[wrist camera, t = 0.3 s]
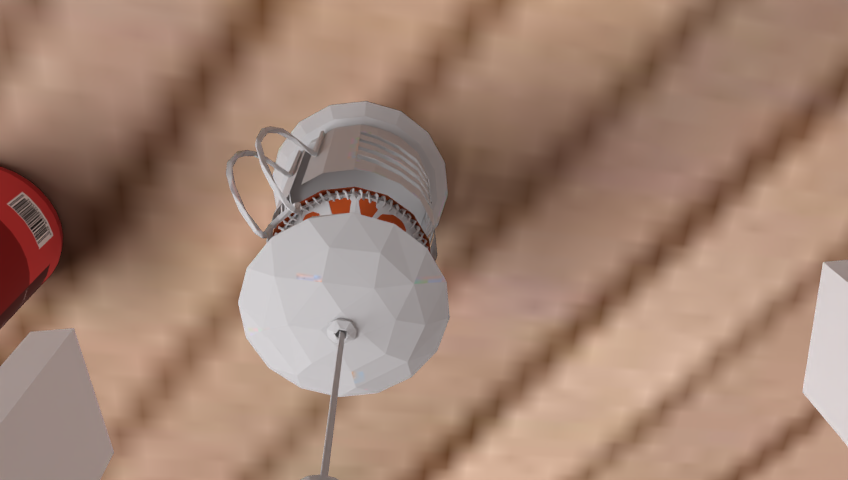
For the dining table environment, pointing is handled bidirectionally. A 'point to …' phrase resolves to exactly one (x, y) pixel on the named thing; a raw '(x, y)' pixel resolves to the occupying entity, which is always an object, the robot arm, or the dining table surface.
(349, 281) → the french press
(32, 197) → the canned food
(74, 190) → the dining table surface
